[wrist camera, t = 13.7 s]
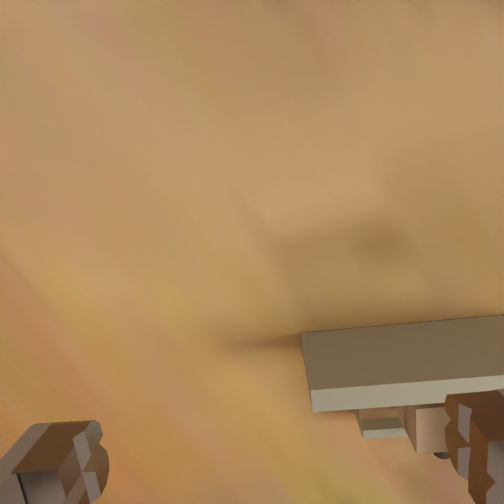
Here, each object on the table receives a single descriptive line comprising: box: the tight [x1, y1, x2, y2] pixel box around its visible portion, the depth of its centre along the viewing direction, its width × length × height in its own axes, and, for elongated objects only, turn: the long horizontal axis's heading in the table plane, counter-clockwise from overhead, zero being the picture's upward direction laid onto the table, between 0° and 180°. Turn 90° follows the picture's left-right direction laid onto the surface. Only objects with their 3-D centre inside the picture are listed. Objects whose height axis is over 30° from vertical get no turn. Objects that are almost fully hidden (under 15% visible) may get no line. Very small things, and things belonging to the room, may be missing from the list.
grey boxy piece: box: [301, 315, 504, 439], centre depth 36 cm, size 22×10×10 cm, turn 97°
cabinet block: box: [395, 403, 451, 459], centre depth 35 cm, size 5×5×6 cm
